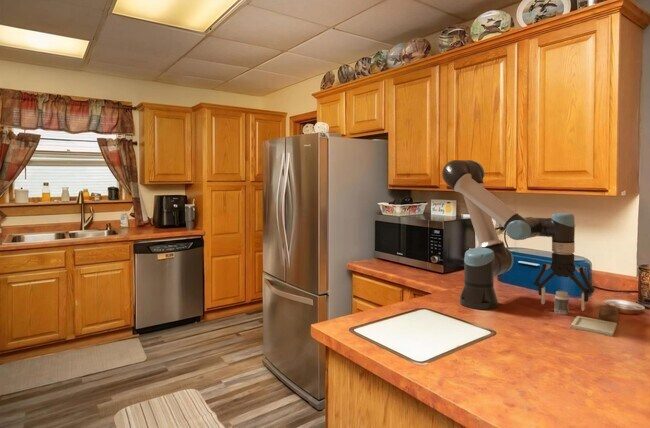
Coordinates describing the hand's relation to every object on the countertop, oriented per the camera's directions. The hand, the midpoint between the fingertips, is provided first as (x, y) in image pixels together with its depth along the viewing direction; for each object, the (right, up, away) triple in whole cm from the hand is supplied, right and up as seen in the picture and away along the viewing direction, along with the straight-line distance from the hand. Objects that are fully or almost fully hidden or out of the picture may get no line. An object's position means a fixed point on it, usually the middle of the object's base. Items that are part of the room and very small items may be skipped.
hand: (562, 306), depth 152 cm
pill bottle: (0, -3, +1) cm, 3 cm away
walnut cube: (+11, -3, -9) cm, 15 cm away
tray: (+2, -4, -15) cm, 15 cm away
